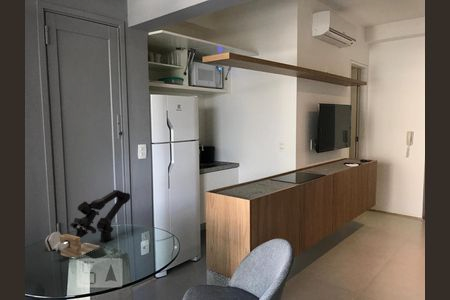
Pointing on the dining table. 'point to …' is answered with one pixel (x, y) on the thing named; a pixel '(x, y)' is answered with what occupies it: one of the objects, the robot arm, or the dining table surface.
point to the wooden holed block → (64, 245)
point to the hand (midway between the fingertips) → (76, 240)
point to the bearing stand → (75, 246)
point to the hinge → (53, 241)
